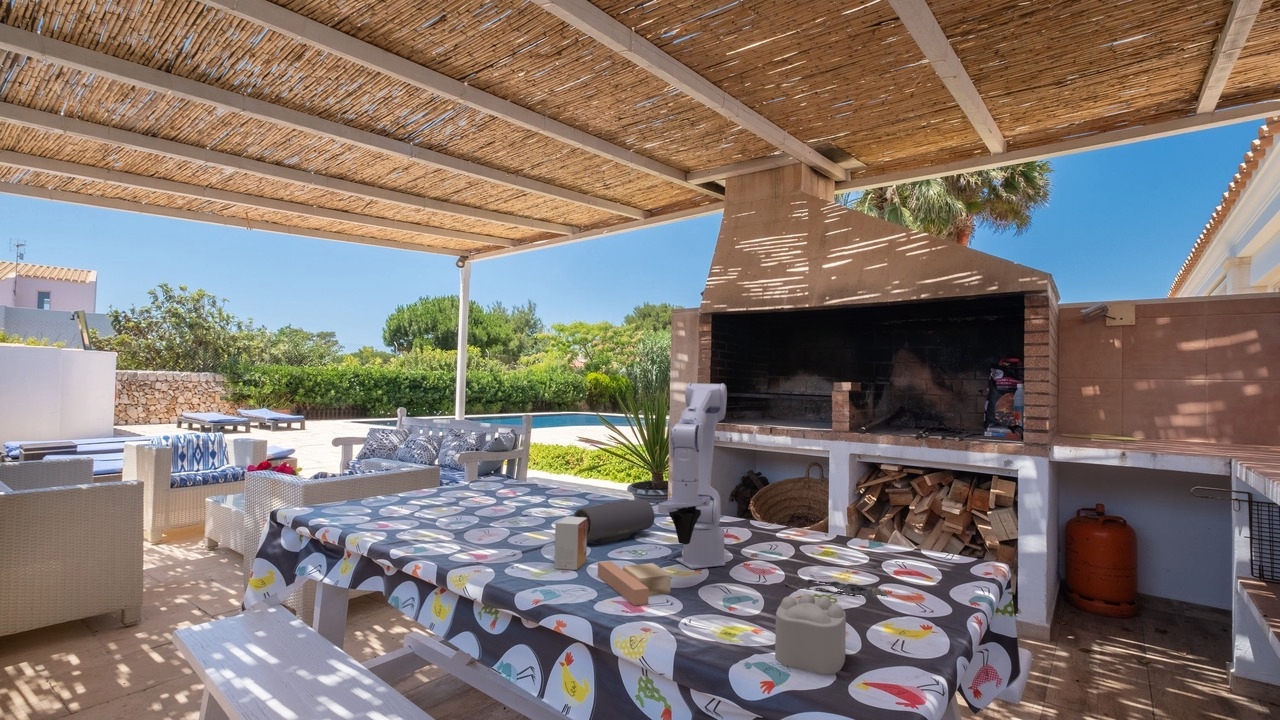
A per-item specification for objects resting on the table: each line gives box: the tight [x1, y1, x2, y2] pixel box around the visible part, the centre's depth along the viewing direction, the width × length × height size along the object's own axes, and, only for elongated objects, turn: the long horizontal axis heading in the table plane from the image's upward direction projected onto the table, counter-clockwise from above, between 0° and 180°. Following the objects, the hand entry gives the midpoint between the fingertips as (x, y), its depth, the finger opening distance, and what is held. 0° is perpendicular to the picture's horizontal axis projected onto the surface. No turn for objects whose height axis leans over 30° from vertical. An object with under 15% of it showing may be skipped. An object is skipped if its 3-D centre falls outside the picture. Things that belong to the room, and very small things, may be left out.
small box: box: [553, 516, 588, 571], centre depth 149 cm, size 8×6×10 cm
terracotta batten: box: [597, 560, 649, 607], centre depth 132 cm, size 3×20×3 cm, turn 24°
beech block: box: [622, 562, 672, 597], centre depth 133 cm, size 7×9×4 cm
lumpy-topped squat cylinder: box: [774, 593, 847, 675], centre depth 102 cm, size 10×13×9 cm
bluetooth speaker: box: [573, 499, 655, 543], centre depth 175 cm, size 23×9×10 cm, turn 133°
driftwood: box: [784, 578, 888, 597], centre depth 136 cm, size 21×7×2 cm, turn 67°
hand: (684, 543), depth 136 cm, fingers closed
